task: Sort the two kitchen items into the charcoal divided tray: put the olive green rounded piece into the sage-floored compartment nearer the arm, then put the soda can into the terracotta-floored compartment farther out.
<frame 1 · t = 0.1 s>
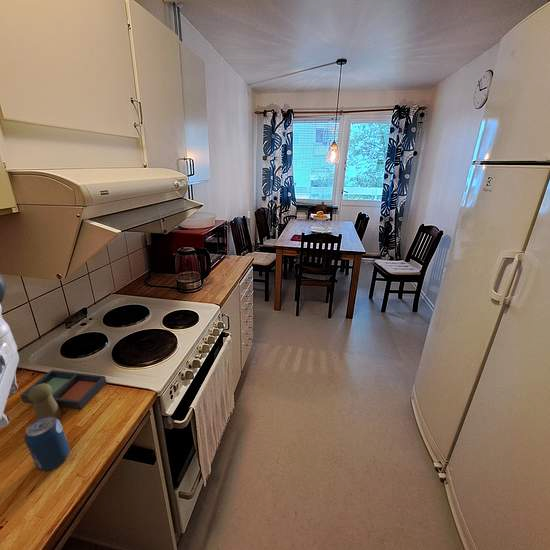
hand: (8, 407, 57), 24 cm above the worktop, tool pointing down, fingers open, 8 cm apart
soda can: (54, 460, 72), on the worktop
olive green rounded piece: (49, 417, 84), on the worktop
sorting tray: (66, 392, 93), on the worktop
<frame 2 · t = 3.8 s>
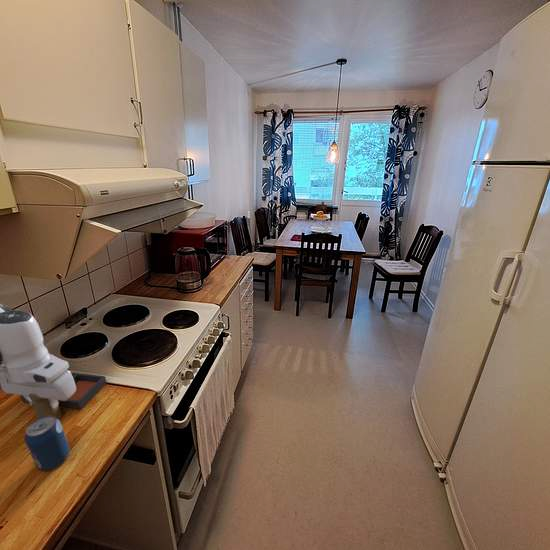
hand: (45, 405, 82), 5 cm above the worktop, tool pointing down, fingers closed on olive green rounded piece, 4 cm apart
olive green rounded piece: (49, 417, 84), on the worktop, touching gripper
everything else where it was.
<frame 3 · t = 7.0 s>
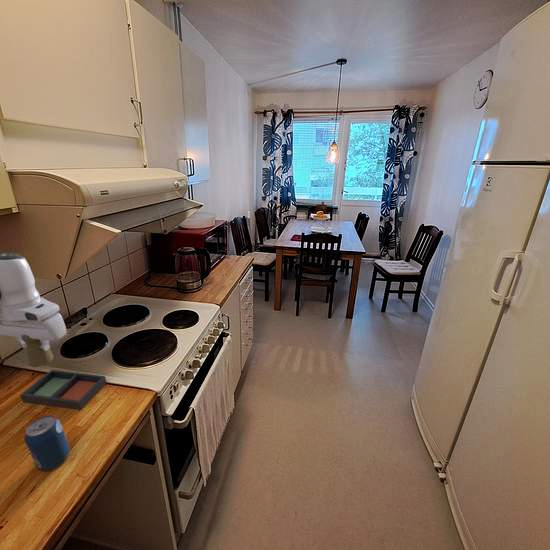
hand: (37, 348, 86), 17 cm above the worktop, tool pointing down, fingers closed on olive green rounded piece, 4 cm apart
olive green rounded piece: (41, 361, 88), point 13 cm above the worktop, touching gripper
everything else where it was.
when the fingers open (5 cm above the worktop, at t = 10.1 s): olive green rounded piece stays where it is, resting on sorting tray.
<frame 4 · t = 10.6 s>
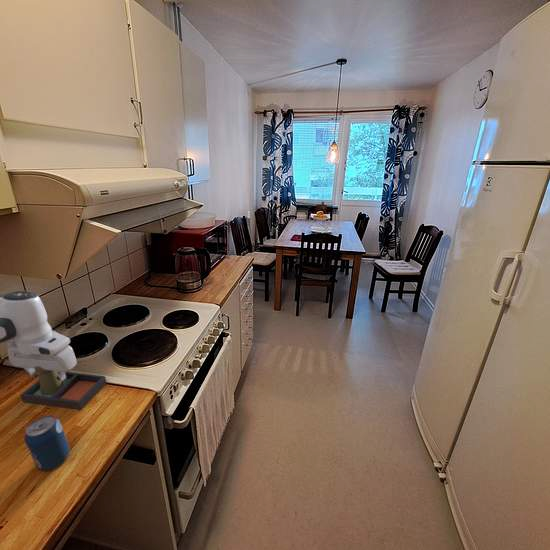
hand: (48, 377, 91), 5 cm above the worktop, tool pointing down, fingers open, 8 cm apart
olive green rounded piece: (52, 388, 93), point 1 cm above the worktop, touching sorting tray
everything else where it was.
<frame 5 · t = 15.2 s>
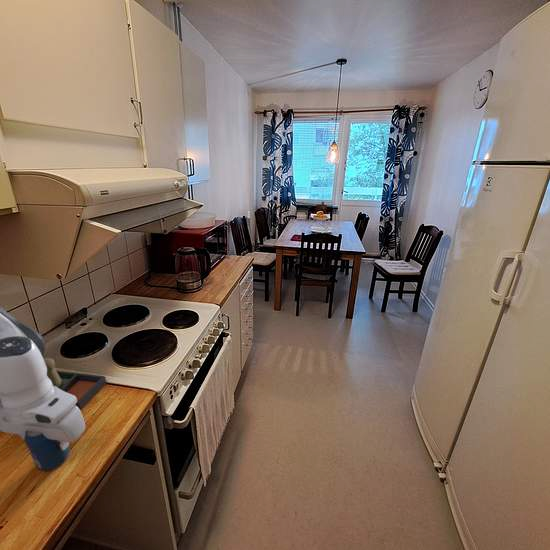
hand: (49, 445, 70), 5 cm above the worktop, tool pointing down, fingers closed on soda can, 7 cm apart
soda can: (54, 460, 72), on the worktop, touching gripper
everything else where it was.
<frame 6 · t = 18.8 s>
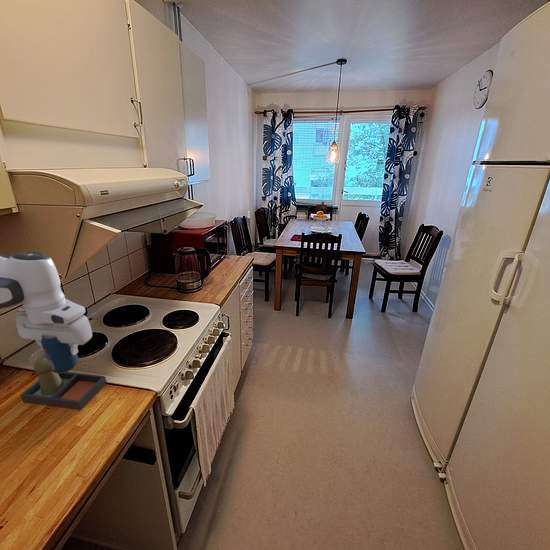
hand: (61, 352, 82), 19 cm above the worktop, tool pointing down, fingers closed on soda can, 7 cm apart
soda can: (65, 367, 84), point 13 cm above the worktop, touching gripper
everything else where it was.
when the fingers open (6 cm above the worktop, at t = 22.6 s): soda can stays where it is, resting on sorting tray.
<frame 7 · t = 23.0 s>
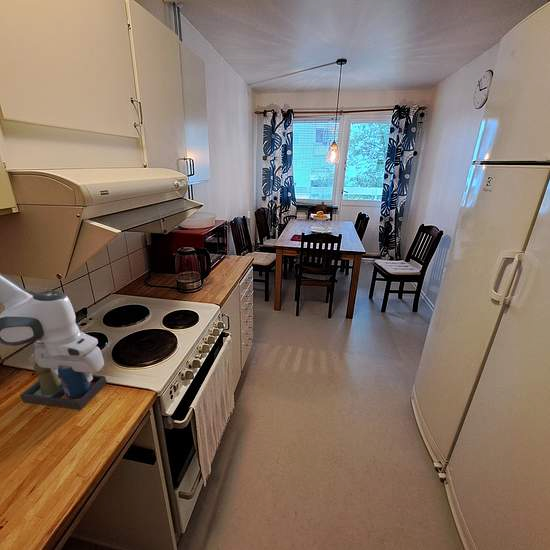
hand: (75, 379, 90), 6 cm above the worktop, tool pointing down, fingers open, 8 cm apart
soda can: (79, 393, 92), resting on sorting tray
everything else where it was.
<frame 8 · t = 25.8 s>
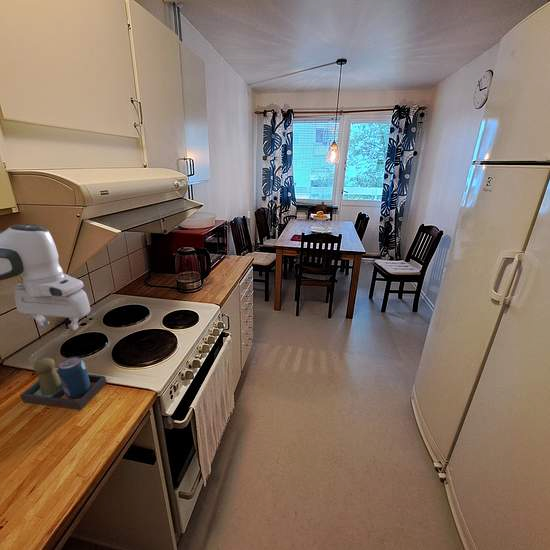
hand: (59, 327, 83), 25 cm above the worktop, tool pointing down, fingers open, 8 cm apart
nothing on the worktop moved.
at the end: olive green rounded piece inside the target area on the sorting tray (0.4 cm from its centre), point 0.4 cm above the sorting tray's base; soda can inside the target area on the sorting tray (0.1 cm from its centre), point 0.4 cm above the sorting tray's base; soda can tilted 0° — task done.
